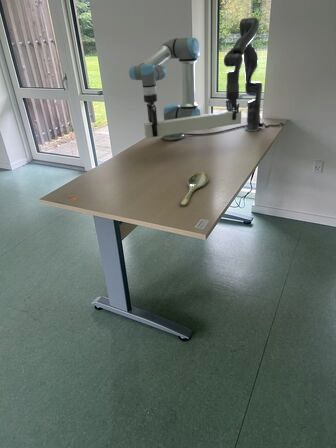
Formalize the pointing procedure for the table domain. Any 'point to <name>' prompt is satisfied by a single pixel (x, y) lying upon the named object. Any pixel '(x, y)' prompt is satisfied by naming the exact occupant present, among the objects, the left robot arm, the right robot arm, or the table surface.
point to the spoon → (195, 184)
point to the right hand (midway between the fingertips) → (232, 118)
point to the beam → (192, 123)
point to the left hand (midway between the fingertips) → (154, 134)
